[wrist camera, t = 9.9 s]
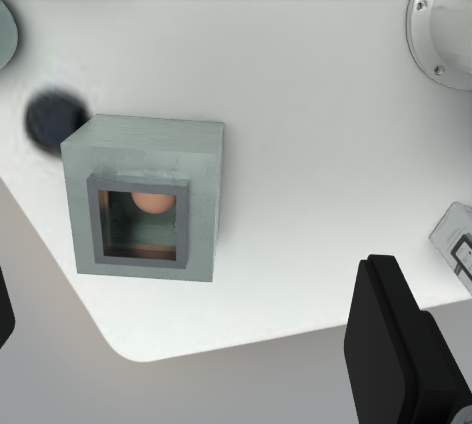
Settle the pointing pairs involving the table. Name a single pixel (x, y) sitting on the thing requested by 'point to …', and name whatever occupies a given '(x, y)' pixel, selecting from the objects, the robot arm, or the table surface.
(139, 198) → the peach sphere
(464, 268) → the ink box
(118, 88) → the table surface
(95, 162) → the box
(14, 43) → the cup
